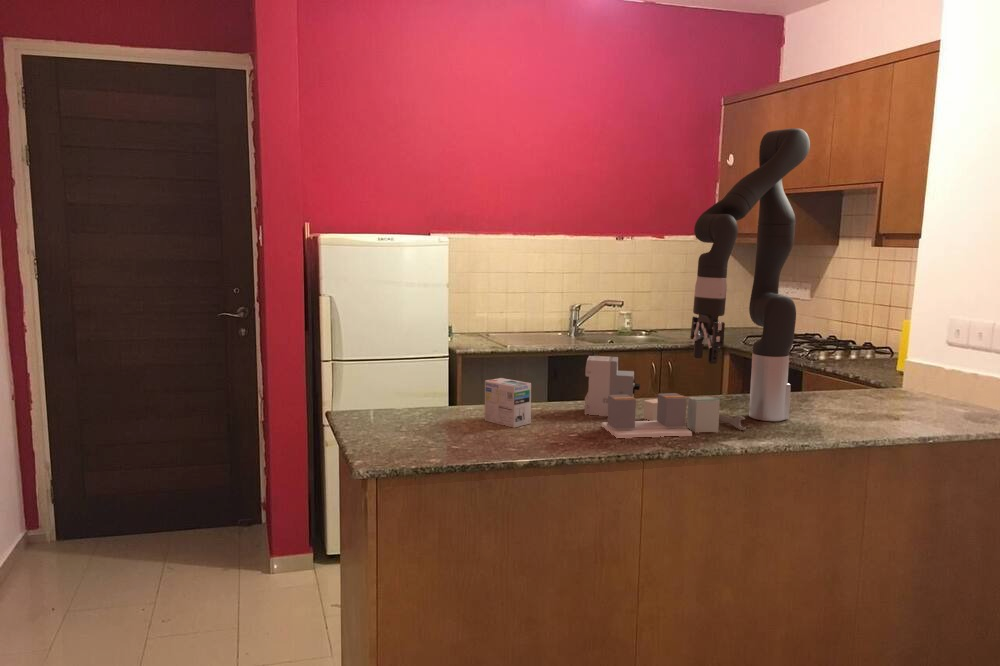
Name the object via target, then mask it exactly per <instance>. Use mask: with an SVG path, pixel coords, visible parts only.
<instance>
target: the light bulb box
mask: <svg viewBox="0 0 1000 666" xmlns="http://www.w3.org/2000/svg"><path fill="white" fill-rule="evenodd" d="M531 410H532V383H531V382H526V381H521V380H514V379H508V378H504V377H499V378H494V379H486V380H484V421H485V422H489V423H493V424H497V425H500V426H504V425H505V427H510V428H518V427H523V426H526V425H530V424H531V420H532V419H531V418H532V416H531V415H532V411H531Z"/></svg>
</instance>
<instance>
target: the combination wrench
mask: <svg viewBox="0 0 1000 666" xmlns="http://www.w3.org/2000/svg"><path fill="white" fill-rule="evenodd" d="M742 420H746V418H745V417H744V416H742V415H737V416H736V417H735V418H732V417H730V416H727V415H725V414H721V413H719V421H721V422H725V423H728V424H731V425H733V426H734V427H735V428H736V429H737V428H738V429H741V430H743V431H745V430H746V429H747V427H746V426H742V422H741V421H742ZM738 429H737V430H738ZM741 430H740V431H741Z"/></svg>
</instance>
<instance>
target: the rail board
mask: <svg viewBox="0 0 1000 666" xmlns="http://www.w3.org/2000/svg"><path fill="white" fill-rule="evenodd" d="M657 399H658V405H657V421H648V420H636V410H637V409H636V407H637V404H636V403H637V402H636V401H637V400H636V398H635V397H634V396H633V397H631V396H629V395H628V394H626V395H608V417H607V419H606V420H607V422H606V421H603V422H601V427H602V428H603V427H604V428H605V429H604V428H603V429H604V430H606V431H607V432H608V431H609V432H610V433H611V435H612V436H613V435H614V436H615V437H616V438H615V437H614V436H613V437H614V438H615V439H617V438H625V439H633V438H632V437H652V438H665V437H664V436H679V437H693V431H691V430H689V429H688V428H687V424H686V422H687V421H686V419H687V417H686V415H687V399H688V398H687V397H686V396H685V395H681V394H679V393H677V392H672V393H671V392H670V393H669V392H667V393H657ZM609 432H608V433H609ZM610 433H609V434H610ZM660 436H661V437H660Z"/></svg>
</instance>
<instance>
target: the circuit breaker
mask: <svg viewBox="0 0 1000 666" xmlns="http://www.w3.org/2000/svg"><path fill="white" fill-rule="evenodd" d="M585 377H587V378H588V392H587V393H586V395H585V397H584V414H589V415H588V416H590V415H599V416H598V417H607V416H608V395H626V394H628V395H629V396H631V397H634V395H635V391H640V389H641V386H640V385H641V384H640V383H636V381H635V380H636V379H635V371H634V370H619V357H618V356H605V355H604V356H603V355H602V356H601V355H588V357H587V360H586V364H585Z"/></svg>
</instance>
